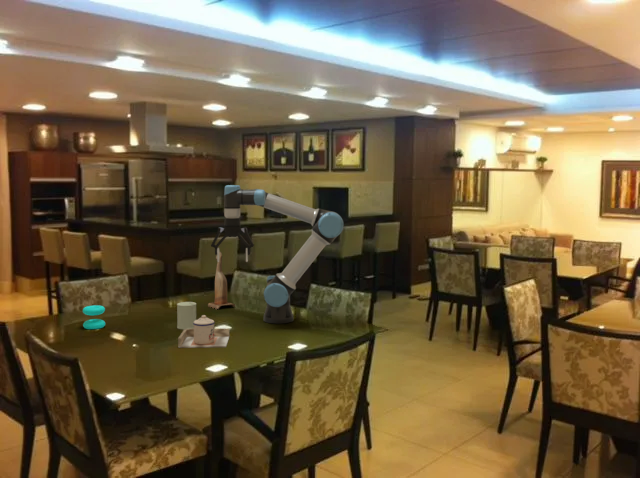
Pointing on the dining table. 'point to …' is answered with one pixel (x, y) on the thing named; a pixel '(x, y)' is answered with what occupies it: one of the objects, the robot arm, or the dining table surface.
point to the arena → (188, 342)
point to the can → (186, 315)
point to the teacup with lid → (203, 330)
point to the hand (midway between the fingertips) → (232, 261)
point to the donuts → (94, 322)
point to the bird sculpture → (220, 287)
